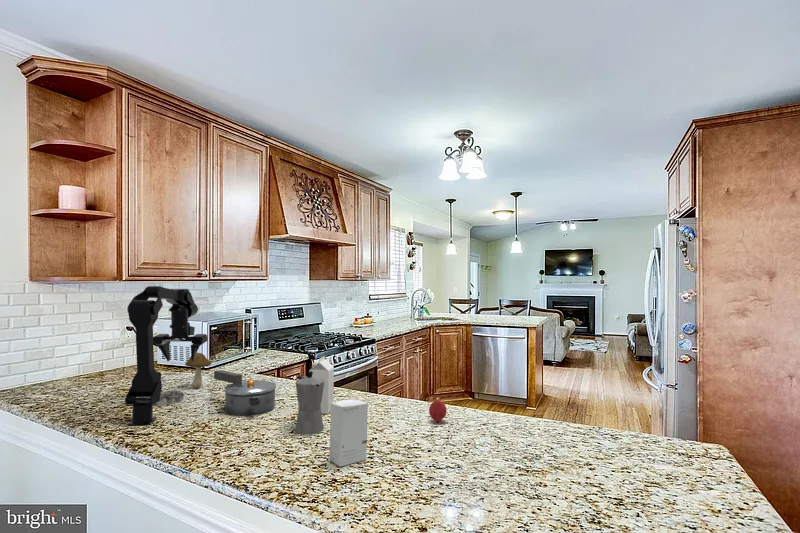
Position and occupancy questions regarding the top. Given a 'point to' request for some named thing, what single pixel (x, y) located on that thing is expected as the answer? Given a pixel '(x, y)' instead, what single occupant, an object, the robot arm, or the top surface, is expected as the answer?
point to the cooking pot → (249, 404)
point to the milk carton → (325, 382)
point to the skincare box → (348, 432)
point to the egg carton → (170, 398)
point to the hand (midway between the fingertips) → (180, 360)
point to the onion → (437, 410)
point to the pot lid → (243, 384)
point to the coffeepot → (309, 404)
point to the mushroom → (198, 368)
